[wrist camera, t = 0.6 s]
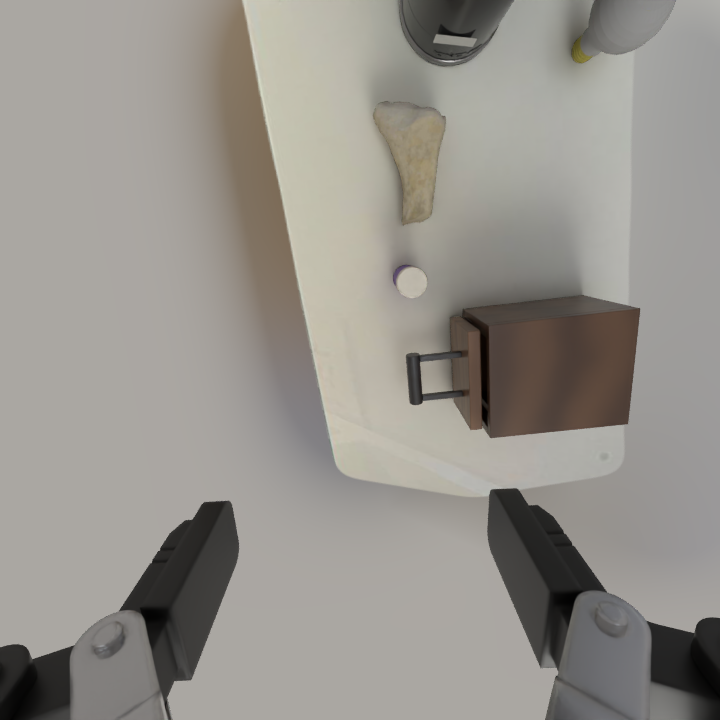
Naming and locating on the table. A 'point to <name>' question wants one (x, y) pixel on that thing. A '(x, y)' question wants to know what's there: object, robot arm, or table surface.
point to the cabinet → (557, 364)
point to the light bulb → (620, 26)
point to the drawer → (457, 372)
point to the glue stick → (410, 281)
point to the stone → (413, 152)
